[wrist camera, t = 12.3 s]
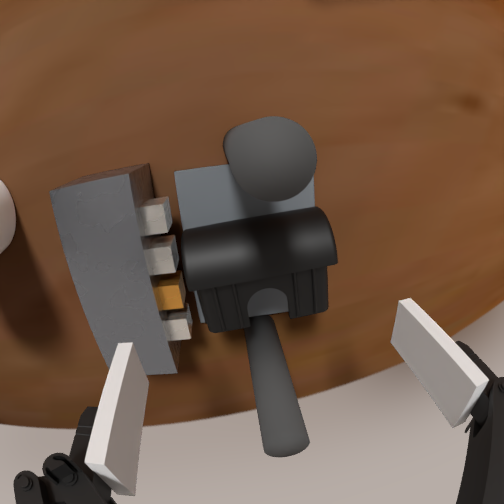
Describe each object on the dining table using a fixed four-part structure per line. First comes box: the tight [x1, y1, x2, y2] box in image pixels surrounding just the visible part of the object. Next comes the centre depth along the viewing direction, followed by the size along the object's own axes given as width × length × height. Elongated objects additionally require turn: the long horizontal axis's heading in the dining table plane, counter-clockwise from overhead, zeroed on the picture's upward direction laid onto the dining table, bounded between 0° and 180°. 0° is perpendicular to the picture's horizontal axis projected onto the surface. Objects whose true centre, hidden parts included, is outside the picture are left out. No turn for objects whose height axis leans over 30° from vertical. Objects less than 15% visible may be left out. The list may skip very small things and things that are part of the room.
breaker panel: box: [49, 163, 192, 375], centre depth 23 cm, size 8×16×6 cm, turn 5°
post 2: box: [244, 315, 310, 457], centre depth 23 cm, size 3×3×14 cm
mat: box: [174, 164, 315, 323], centre depth 26 cm, size 11×14×1 cm
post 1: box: [223, 117, 317, 202], centre depth 17 cm, size 3×3×14 cm
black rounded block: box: [181, 207, 338, 333], centre depth 23 cm, size 10×7×7 cm
